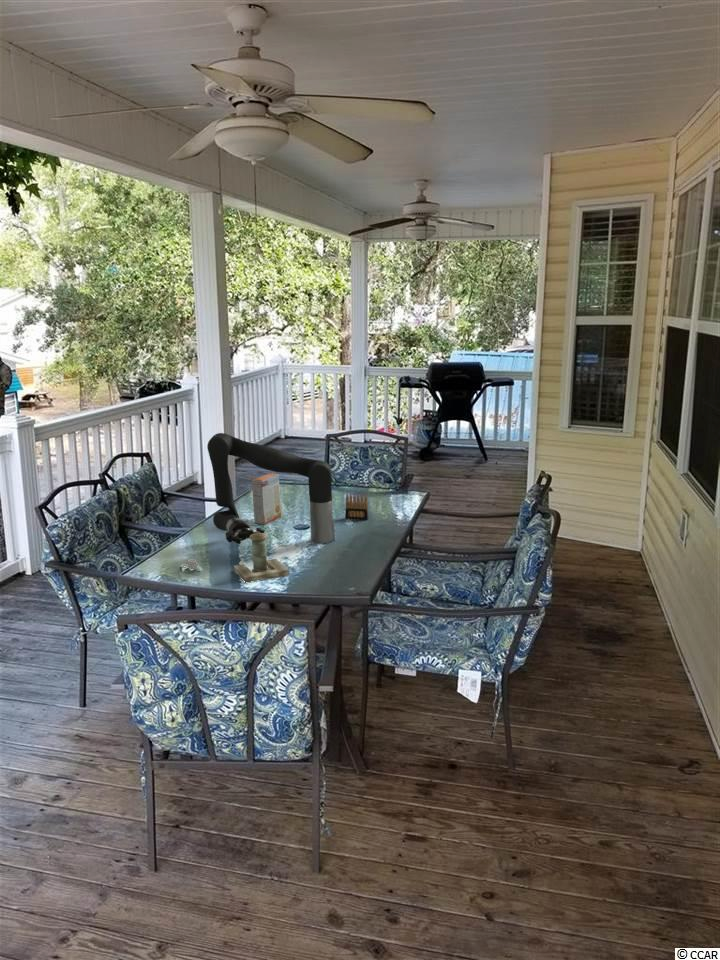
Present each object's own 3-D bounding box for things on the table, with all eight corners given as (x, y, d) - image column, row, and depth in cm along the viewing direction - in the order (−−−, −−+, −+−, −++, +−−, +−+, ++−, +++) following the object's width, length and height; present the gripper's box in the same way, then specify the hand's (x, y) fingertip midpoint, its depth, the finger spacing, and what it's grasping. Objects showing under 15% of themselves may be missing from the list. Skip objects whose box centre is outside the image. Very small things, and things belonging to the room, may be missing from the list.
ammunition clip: (345, 518, 325) (344, 493, 323) (346, 517, 327) (345, 492, 324) (367, 520, 323) (367, 494, 320) (368, 519, 324) (368, 493, 322)
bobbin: (265, 568, 262) (264, 532, 259) (271, 573, 257) (270, 536, 253) (249, 570, 259) (247, 534, 256) (254, 576, 254) (253, 539, 251)
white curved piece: (177, 569, 263) (176, 559, 262) (196, 565, 268) (196, 554, 267) (186, 576, 256) (185, 565, 255) (206, 571, 261) (206, 560, 260)
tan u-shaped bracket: (276, 563, 267) (275, 558, 266) (289, 575, 254) (289, 569, 254) (234, 570, 260) (233, 565, 259) (245, 583, 247) (245, 577, 247)
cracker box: (271, 515, 332) (269, 472, 327) (281, 517, 329) (279, 473, 325) (253, 523, 320) (251, 478, 315) (264, 525, 317) (262, 480, 313)
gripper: (219, 522, 275) (231, 533, 261) (254, 517, 281) (268, 527, 267) (220, 540, 277) (232, 552, 263) (255, 535, 283) (269, 546, 269)
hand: (250, 539), depth 265 cm, fingers open, 8 cm apart
